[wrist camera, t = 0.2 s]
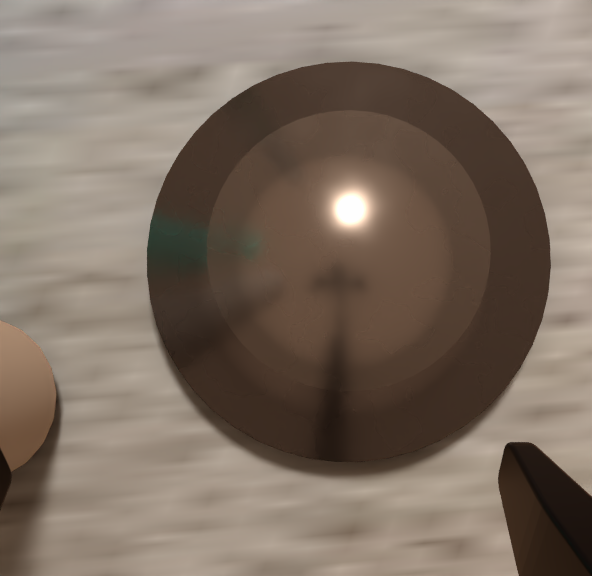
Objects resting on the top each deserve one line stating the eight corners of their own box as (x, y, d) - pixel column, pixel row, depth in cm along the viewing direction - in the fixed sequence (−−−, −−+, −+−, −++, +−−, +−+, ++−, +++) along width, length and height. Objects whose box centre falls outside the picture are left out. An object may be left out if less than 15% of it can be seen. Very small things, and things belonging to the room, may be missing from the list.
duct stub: (614, 344, 23) (675, 350, 19) (259, 523, 23) (245, 566, 19) (423, 6, 24) (442, -56, 20) (92, 181, 25) (47, 156, 21)
